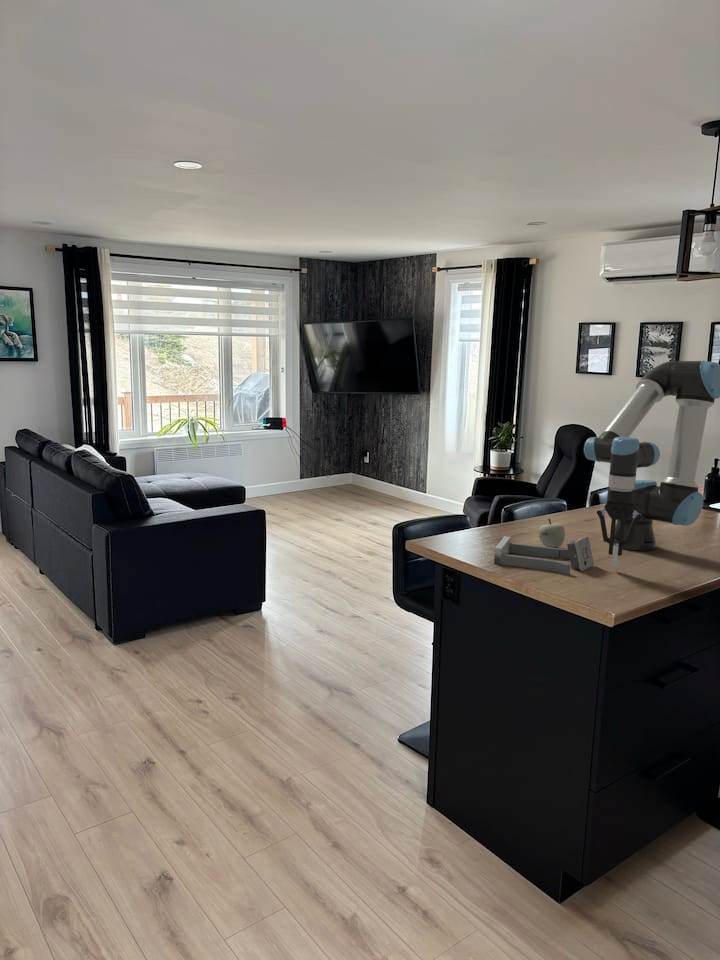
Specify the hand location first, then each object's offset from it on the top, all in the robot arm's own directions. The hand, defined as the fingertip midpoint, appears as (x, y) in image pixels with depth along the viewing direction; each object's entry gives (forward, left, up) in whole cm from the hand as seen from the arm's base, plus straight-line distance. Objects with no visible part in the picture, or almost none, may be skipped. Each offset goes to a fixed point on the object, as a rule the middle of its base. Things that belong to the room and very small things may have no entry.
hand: (614, 565), depth 215 cm
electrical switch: (+10, 0, -2) cm, 10 cm away
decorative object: (+21, -20, -2) cm, 29 cm away
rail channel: (+23, 0, -2) cm, 24 cm away
